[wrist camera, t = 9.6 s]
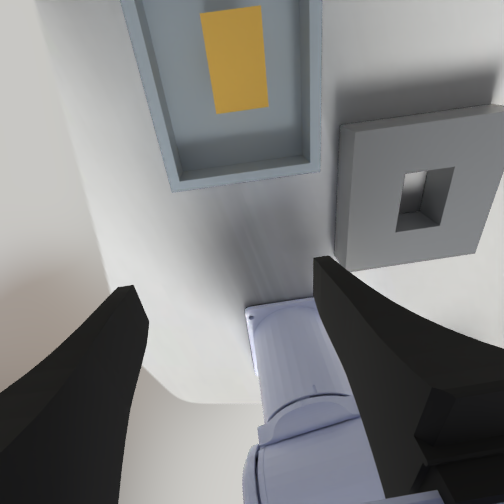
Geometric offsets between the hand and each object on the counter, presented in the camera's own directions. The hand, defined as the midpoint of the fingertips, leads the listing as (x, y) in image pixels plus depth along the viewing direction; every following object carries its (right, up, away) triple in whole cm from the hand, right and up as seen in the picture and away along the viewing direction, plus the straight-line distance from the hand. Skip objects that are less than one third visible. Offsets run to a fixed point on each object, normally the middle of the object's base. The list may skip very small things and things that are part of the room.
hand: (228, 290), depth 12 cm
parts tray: (0, +12, +5) cm, 13 cm away
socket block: (+12, +6, +10) cm, 17 cm away
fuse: (0, +12, +4) cm, 13 cm away
